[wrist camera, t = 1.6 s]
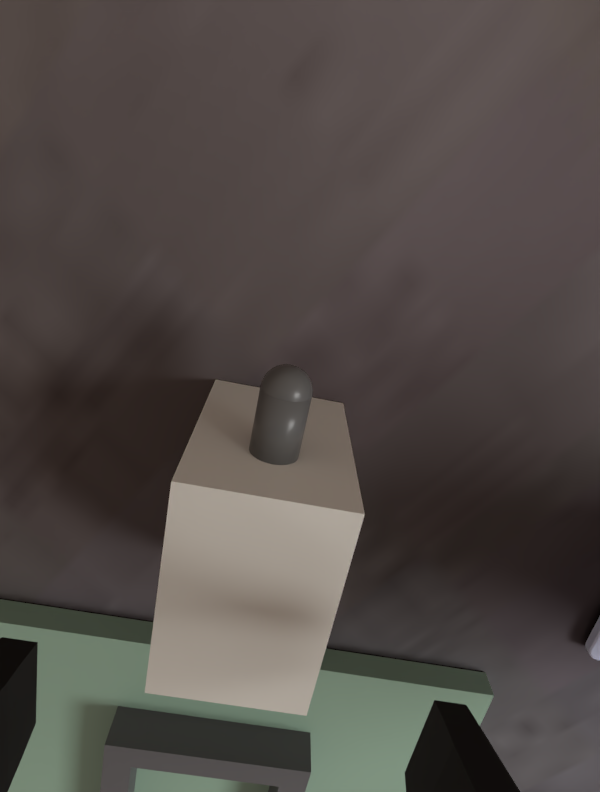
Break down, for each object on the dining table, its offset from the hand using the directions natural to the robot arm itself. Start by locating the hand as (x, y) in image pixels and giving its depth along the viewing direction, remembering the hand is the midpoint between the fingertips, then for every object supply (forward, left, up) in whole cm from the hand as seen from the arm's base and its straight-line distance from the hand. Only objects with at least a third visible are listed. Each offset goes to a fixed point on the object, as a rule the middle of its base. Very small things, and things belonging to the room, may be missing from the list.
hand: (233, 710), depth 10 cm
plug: (0, 0, -8) cm, 8 cm away
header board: (0, +15, -8) cm, 17 cm away
